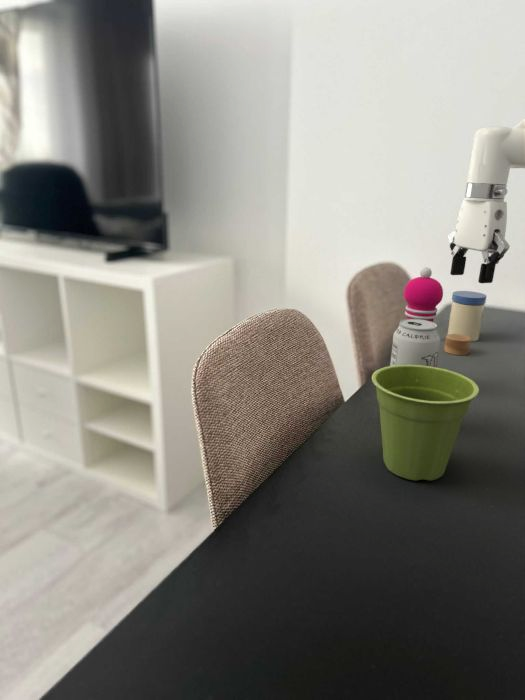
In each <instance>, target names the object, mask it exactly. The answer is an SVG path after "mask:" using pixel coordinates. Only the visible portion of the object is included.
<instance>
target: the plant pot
mask: <svg viewBox="0 0 525 700" xmlns="http://www.w3.org/2000/svg"><path fill="white" fill-rule="evenodd" d="M371 381H372V384H373V385H374V387H376V388H375V389H376V400H377V402H378V407H379V419H380V431H381V433H380V434H381V442H382V443H381V445H382V446H381V447H382V458H383V463H384V464H385V467H386V469H387V470H388V471H389V472H391V473H392V474H394V475H395V476H397V477H400V478H403V479H405V480H409V481H420V480H426V481H428V482H429V481H430V482H431V481H435V480H438V479H439V478H441V477H442V476H443V475H444V474H445V471H446V469H447V466H448V463H449V460H450V457H451V454H452V451H453V448H454V445H455V442H456V439H457V437H458V434H459V431H460V428H461V425H462V422H463V419H464V416H466V414H467V413H468V411H469V408H470V406H471V402H472V400H473V399H476V397H477V396H478V395H479V392H480V389H479V385H478V384H476V382H475V381H474V380H472V379H471V378H469V377H468V376H465V375H463V374H461V373H458V372H456V371H453V370H449V369H445V368H441V367H430V366H423V365H394V366H390V365H389V366H384V367H381V368H379V369H377V370H375V371H374V372H373V373H372V375H371Z"/></svg>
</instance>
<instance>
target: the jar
mask: <svg viewBox="0 0 525 700" xmlns="http://www.w3.org/2000/svg"><path fill="white" fill-rule="evenodd" d="M485 304H486V303H485ZM485 304H482V305H469V304H462V303H457V302H454V301H453V300H452V299H451V307H450V314H449V320H448V327H447V334H446V335H448V334H461V335H465V336H468V337H470V338H471V342H476V341H479V339H480V336H481V335H480V334H481V329H482V328H481V327H482V323H483V316H484V310H485Z"/></svg>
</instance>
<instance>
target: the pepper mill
mask: <svg viewBox="0 0 525 700" xmlns="http://www.w3.org/2000/svg"><path fill="white" fill-rule="evenodd" d="M432 273H433V272H432V269H431V268H430V267H427V266H426V267H423V268H421V269H420V272H419V275H420V276H418V277H414V278H412V279H411V280H409V281H408V282H407V284H406V285H405V287H404V291H403V297H404V300H405V302H406V303H407V305H406V306H405V311H404V315H405V316H406V319H421V320H427V321H430V322H433V323H434V320H435V319H436V318H437V317H438V315H437V312H438V311H439V310H438V308H437V306H438V305H439V304H440V303H441V302H442V301H443V299H444V298H443V297H444V288H443V286H442V284H441V283H440V281H438V280H437V279H435V278H432V277H431V276H432ZM437 361H438V357H437ZM436 368H438V363H437V364H436Z"/></svg>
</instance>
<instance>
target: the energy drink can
mask: <svg viewBox="0 0 525 700" xmlns="http://www.w3.org/2000/svg"><path fill="white" fill-rule="evenodd" d="M437 329H438V325H437V323H435V322H434V321H433V322H430V321H427V320H421V319H407V318H405V319H401V320H400V321H399V325H398V327H397V328H396V330H395V331H394V332H393V336H392V346H391V354H390V364H389V366H394V365H423V366H430V367H436V364H437V365H438V360H437V357H438V356H439V350H440V344H441V343H440V342H441V336H440V335H439V332H438V330H437ZM436 368H437V367H436Z"/></svg>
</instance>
